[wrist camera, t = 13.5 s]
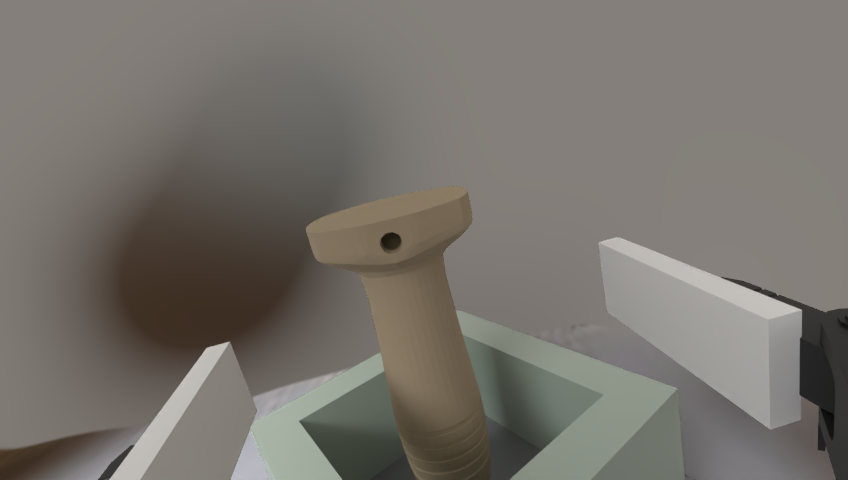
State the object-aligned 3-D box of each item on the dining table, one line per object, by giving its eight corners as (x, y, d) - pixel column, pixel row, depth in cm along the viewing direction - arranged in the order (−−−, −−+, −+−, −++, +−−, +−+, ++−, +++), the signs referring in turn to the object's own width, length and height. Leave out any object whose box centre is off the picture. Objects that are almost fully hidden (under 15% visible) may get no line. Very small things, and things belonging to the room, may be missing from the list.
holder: (264, 524, 23) (223, 427, 22) (476, 379, 32) (459, 300, 30) (438, 947, 10) (369, 785, 9) (723, 511, 19) (716, 385, 17)
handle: (544, 535, 18) (477, 198, 14) (398, 569, 18) (293, 242, 14) (514, 452, 23) (458, 181, 19) (398, 480, 23) (318, 214, 19)
